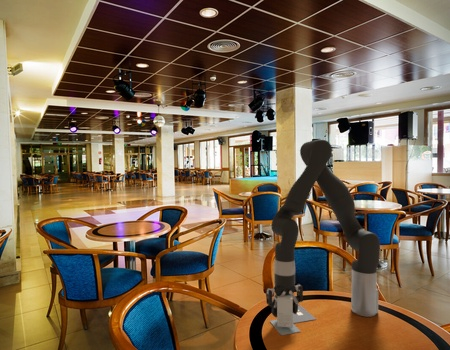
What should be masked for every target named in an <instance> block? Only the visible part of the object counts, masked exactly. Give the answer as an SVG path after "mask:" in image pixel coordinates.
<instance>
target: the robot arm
mask: <svg viewBox="0 0 450 350" xmlns="http://www.w3.org/2000/svg"><path fill="white" fill-rule="evenodd" d="M299 152H300V157H301V160H302V161H303V163H304V165H305V168H304V170H303V171H302V173H301V174H300V176H299V177H298V178H297V179H296V181H295V182H294V183H293V184H292V186H291V188H290V189H289V191H288V194H287V196H286V198H285V200H284V203H283V205H281V207H280V208H279V210H278V211H277V212H276V214H275V215H274V217H273V218H272V220H271V231H272V232H273V233H274V234H275V235H277V236H279V237H281V241H279V242H277V243H276V244H275V247H274V266H273V267H274V269H273V270H274V272H273V273H274V274H273V275H274V276H273V277H274V287H273V288H270V287H268V288H266V296H265V297H266V304H267V305H268V307H270V308H271V314H272V316H273V317H274V318H277V295H278V296H279V297H283V296H285V295H292V297H293V313H294V314H297V312H298V305H299V304H300V303H302V302H304V287H303V286H302V285H301V284H300V283H296V263H295V247H296V244H297V240H298V237H299V230H300V229H299V226H298V223H297V221H296V220H294V219H292V218H293V217H294V216H297V215H300V214H301V213H302V211H303V209H304V207H305V205H306V202H307V201H308V198H309V195H310V193H311V191H312V189H313V187H314V185H315V184H316V183H317V185H318V188H320V190H321V192H322V194H323V195H324V198H325V200H326V202H327V204H328V206H329V207H330V209H331V210H332V213H333V214H334V216H335V217H336V219H337V221H338V223H339V225H340V226H341V228H342V231H343V234H344V236H345V238H346V241H347V243H348V245H349V247H350V248H351V249H353V250H354V251H355V252H358V256H357V259H354V260H352V262H351V288H350V289H351V290H350V291H351V293H350V294H351V297H350V298H351V301H350V302H351V303H350V304H351V305H350V306H351V309H350V310H351V311H352V312H353V313H354V314H355V315H357V316H362V317H366V318H367V317H368V318H369V317H370V318H371V317H374V316H376V315H377V314H379V289H378V288H377V283H378V282H377V277H378V276H377V272H378V271H377V269H378V266H379V265H380V255H381V254H380V253H381V242H380V239H379V236H378V235H377V234H376V233H374V232H371V231H368V230H366V229H364V228H363V227H362V226H361V224H360V222H359V220H358V219H357V216H356V208H355V207H356V205H355V204H356V203H355V200H354V198H353V196H352V194H351V191H350V190H349V189H348V187H347V185H346V184H345V183H344V182H343V180H341V179H340V178H339V177H338V176H337V175H335V174H334V173H333V172H332V171H331V170H330V169H329V167H328V165H327V164H328V162H329V160H330V159H331V156H332V154H333V147H332V145H331V143H330V142H329V141H328V140H327V139H324V138H322V139H321V138H320V139H313V140H310V141H306V142H304V143H302V145H301V146H300V150H299ZM295 284H296V285H295ZM295 292H296V296H295Z"/></svg>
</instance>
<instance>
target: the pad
mask: <svg viewBox="0 0 450 350" xmlns="http://www.w3.org/2000/svg"><path fill="white" fill-rule="evenodd" d="M269 322H270V323H271V325H272V326H273V327H274V328H275V330H276V331H277V332H278V334H280V336H285V335H291V334H296V333H301V330H300V329H299V328H298V327H297V326H296V325H295V323H294V324H293V328H291V327H279V326H277V319H273V320H269Z"/></svg>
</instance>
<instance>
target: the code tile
mask: <svg viewBox="0 0 450 350" xmlns="http://www.w3.org/2000/svg"><path fill="white" fill-rule="evenodd" d="M316 320H317V318H315V317H314V316H313V315H312V314H311V313H310V312H309V311H307V309H305V308H304V307H303V306H302V305H301V304H298V312H297V314H294V313H293V324H294V325H295V324H299V323H304V322H309V321H316Z"/></svg>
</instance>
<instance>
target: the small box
mask: <svg viewBox="0 0 450 350" xmlns="http://www.w3.org/2000/svg"><path fill="white" fill-rule="evenodd" d="M276 320H277V326H279V327H291V328H293V297H292V295H285V296H283V297H279V296H278V295H277V317H276Z"/></svg>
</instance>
